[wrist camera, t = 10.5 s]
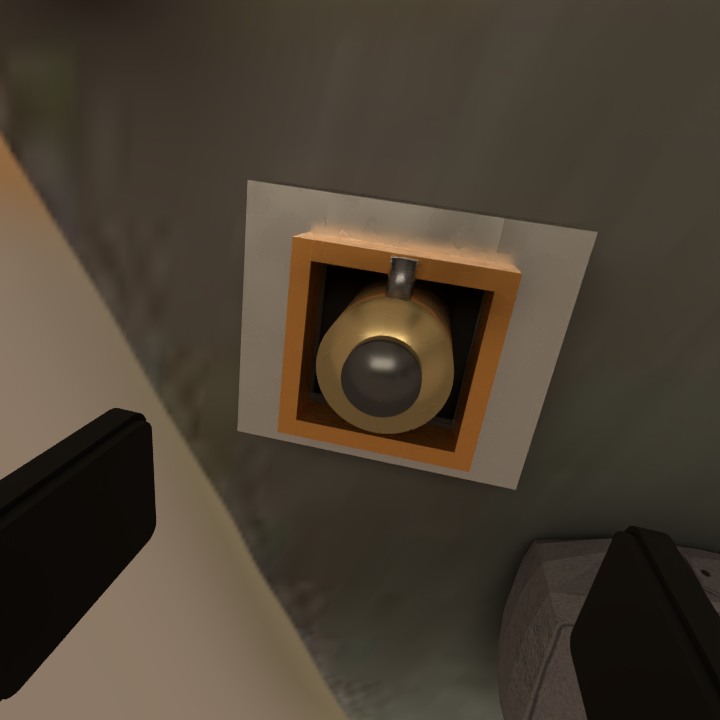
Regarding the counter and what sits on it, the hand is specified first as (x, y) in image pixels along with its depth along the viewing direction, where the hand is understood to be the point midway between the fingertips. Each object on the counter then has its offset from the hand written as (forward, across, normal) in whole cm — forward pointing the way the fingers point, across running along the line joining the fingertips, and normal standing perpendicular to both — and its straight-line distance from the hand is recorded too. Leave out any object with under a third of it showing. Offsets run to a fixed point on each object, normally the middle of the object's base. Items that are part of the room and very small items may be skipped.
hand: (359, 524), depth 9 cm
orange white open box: (+16, +1, 0) cm, 16 cm away
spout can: (+16, +1, 0) cm, 16 cm away
